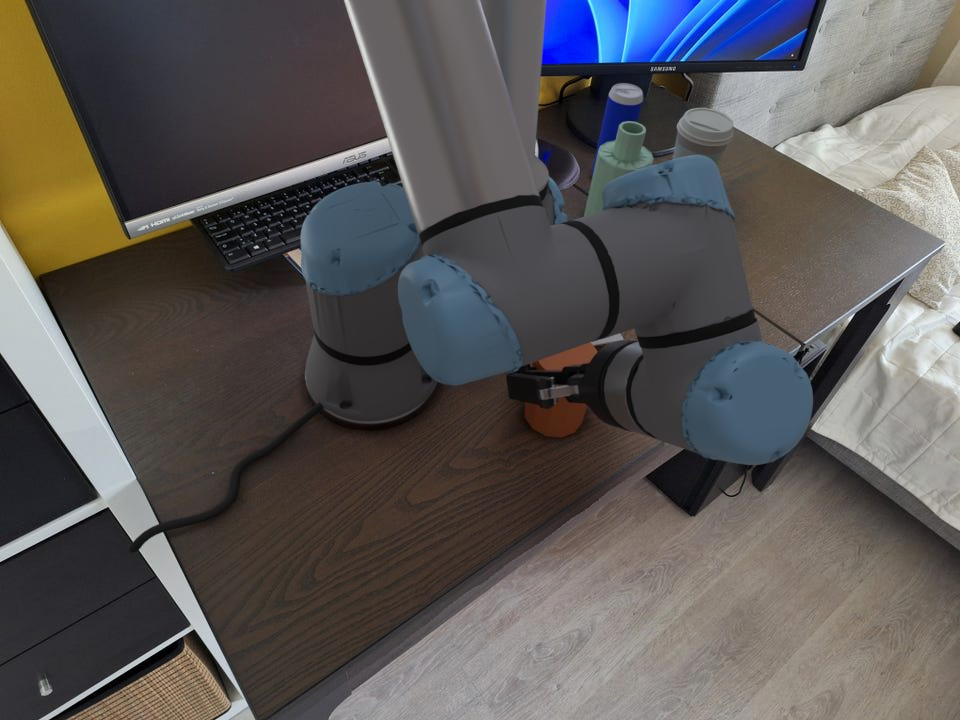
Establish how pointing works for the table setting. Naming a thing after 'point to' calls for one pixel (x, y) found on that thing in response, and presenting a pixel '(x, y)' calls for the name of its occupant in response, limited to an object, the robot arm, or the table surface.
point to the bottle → (617, 161)
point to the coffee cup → (703, 134)
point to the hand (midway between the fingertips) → (547, 371)
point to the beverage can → (619, 111)
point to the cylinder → (563, 414)
